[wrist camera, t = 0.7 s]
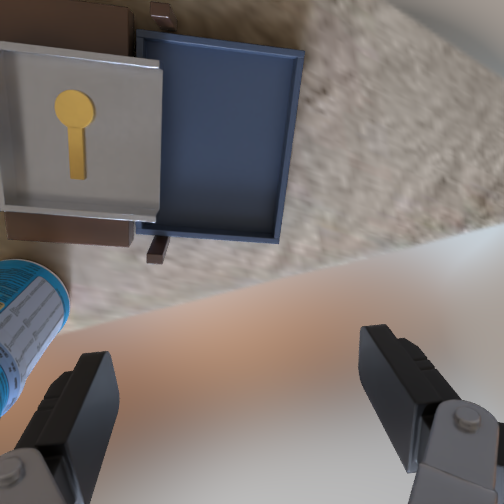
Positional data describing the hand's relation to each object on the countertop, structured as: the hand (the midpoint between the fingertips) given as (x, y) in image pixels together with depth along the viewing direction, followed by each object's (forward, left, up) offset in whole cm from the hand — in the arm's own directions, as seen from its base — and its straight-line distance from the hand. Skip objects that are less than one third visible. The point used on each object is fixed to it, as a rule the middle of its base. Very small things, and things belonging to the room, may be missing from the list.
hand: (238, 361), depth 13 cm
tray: (-4, -1, -23) cm, 23 cm away
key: (-4, -11, -20) cm, 23 cm away
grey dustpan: (-4, -14, -21) cm, 25 cm away
